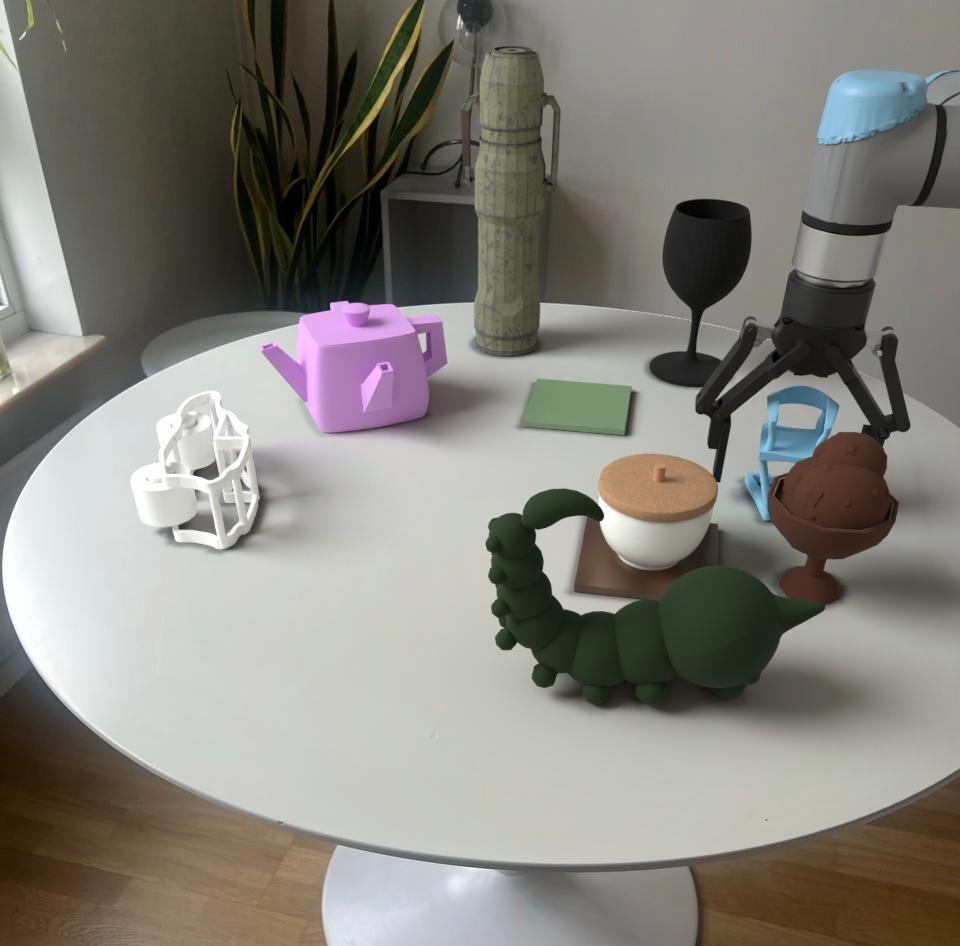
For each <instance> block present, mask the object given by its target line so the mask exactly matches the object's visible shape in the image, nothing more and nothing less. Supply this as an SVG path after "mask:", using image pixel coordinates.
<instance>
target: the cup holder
mask: <svg viewBox="0 0 960 946" xmlns="http://www.w3.org/2000/svg"><path fill="white" fill-rule="evenodd" d="M206 404H208V407H209V408H208V409H209V412H210V416H209V415H207V414H205V413H203V412H200V411H199V412H198V411H193V410H195V409H196V408H198V407H200V406H203V405H206ZM210 417H211V418H210ZM155 429H156V433H157V437H158V441H159V445H160V448H159V450H158V454H157V455H158V456H157V457H158V460H159V462H155V463H150V464H147V465H145V466H141V467H140V468H138V469H137V470H136V471H134V472H133V473H132V475H131V476H130V480H129V481H130V485H131V490H132V493H133V497H134V500H135V501H134V502H135V504H136V508H137V512H138V515H139V519H140V520H141V522H142V523H143V524H145V525H147V526H150V527H153V528H154V527H155V528H169V527H171V528H172V529H171V530H172V534H173V537H174V541H176V542H178V543H195V544H200V545H205V546H209V547H212V548H214V549H216V550H220V551H221V550H226V549H228V548H230V547H232V546H235V544H236V543H237V542H238V539H239V538H241V536H244V535H246V534H249V533H250V531H251V528H252V526H253V524H254V522H255V518H256V516H257V513H258V510H259V501H260V499H261V497H260V492H259V491H260V489H259V486H258V480H257V479H258V478H257V473H256V467H255V460H254V456H253V455H254V454H253V450H252V441H251V436H250V430H249V426H248V425H247V424H246V423H244V422H241V421H240V420H239V418H238V417H237V415H235V413H234V412H232V411H230V410H227V409H225V408H223V401H222V395H221V393H220V392H219V391H216V390H205V391H203V392H199V393H196V394H192V396H190V397H188V398H186V399H185V400H184V401H182V403H181V404H180V406H179V407H178V408H177V410H176V412H174V413H172V414H169V415H166V416H164V417H163V418H161V419H159V421H158V422H157V423H156V427H155ZM233 429H234V430H235V432H236V433H237V434H239V435H240V436H235V435H234V432H233V431H234V430H233ZM237 450H240V452H239V454H238V453H237ZM215 461H216V465H217V470H218V475H219V476H218V477H216V478H214V479H211V480H210V479H209V480H208V479H206V478H204V477H201V476H197V475H194V473H195V471H196V470H199V469H203V468H205V467H208V466H210V465H211V464H213V463H214V462H215ZM245 468H246V470H245ZM242 482H243V484H244V485H245V486H246V487H247V488H249V490H243V487H242V486H243V485H242ZM195 490H196V491H199V492H202V493H205V494H208V498H209V501H210V502H209V503H210V507H211V513H212V516H213V522H214V527H215V531H216V532H215V533H216V535H215V534H213V533H211V532H206V531H202V530H200V531H199V530H195V529H180V527H179V525H182V524H185V523H186V522H188V521H190V520H192V519H193V518H194V517H195V516H196V514H197V513H198V512H199V505H198V501H197V495H196V492H195ZM221 491H222V496H223V499H224V503H225V504H235V505H236V510H237V516H238V522H236V524H234V525H233V526H232V528H231V529H230V531H229V532H228V533H227V534H226V528H225V524H224V519H223V514H222V509H221V503H220V499H219V492H221ZM246 504H249V507H248V510H247V507H246Z"/></svg>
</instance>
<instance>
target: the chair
mask: <svg viewBox="0 0 960 946" xmlns="http://www.w3.org/2000/svg"><path fill="white" fill-rule="evenodd" d="M787 404H788V405H791V404H793V405H794V404H795V405H804V406H809V407H812V408H816V409H819V410H821V413H820V415H819V417H818V418H817V421H816V424H815V428H800V427H791V426H786V425H780V424H778V420H779V408H780V405H787ZM766 405H767V406H766V407H767V416H768V421H767V422H762V425H761V431H760V442H759V450H758V458H757V460H758V470H759V472H751V471H748V472H746V473H745V476H744V484H745V486H746V488H747V491H748V492H749V494H750V496H751V498H752V500H753V502H755V505H756V507H757V509H758V511H759V513H760V516H761V519H762V520H763V521H765V522H769V521H770V522H771V520H770V517H769V513H768V510H767V495H768V492H769V490H770V487H771V485H772V483H773V480H774V478H775V477H776V476H777V475H774V474H769V469H768V462H774V463H775V462H776V463H777V462H779V463H780V462H781V463H792V464H793V463H794V464H796V462H798V461H800V460H803V459H805V458H808V457H812V455H813V452H814V450H815V448H816V447H817V446H818V445H819V444H820V443H821V442H823V441H826V440H827V439H829V438H830V436H831V434H832V433H831V432H832V429H833V426H834V423H835V422H836V418H837V415H838V413H839V410H840V404H839V403H838V402H837V401H836V400H834V399H833V398H832V397H830V395H828V394H827V393H825V392H824V391H822V390H820V389H818V388H815V387H812V386H810V385H791V386H788V387H784V388H781V389H778V390H775V391H773V392H771V393H769V394H768V395H767V396H766ZM759 484H760V485H759Z"/></svg>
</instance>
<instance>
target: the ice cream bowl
mask: <svg viewBox="0 0 960 946" xmlns="http://www.w3.org/2000/svg"><path fill="white" fill-rule="evenodd" d="M887 470H888V454H887V453H886V451H885V449H884V446H883V447H882V446H881V445H880V444H879V442H878V441H877V440H876V439H874V438H872V437H870V436H869V435H867V434H863V433H861V432H857V431H838V432H837V433H835V434H833V435H830V436H829V437H828V438H827V440H826V441H823V442H821V443H820V444H819V445H818V446H817V447H816V448H815V450H814V452H813V455H812V457H808V458H805V459H803V460H800V461H798V462H796V463H794V465H793V466H791V468H790V469H789V471H788V472H785V473H782V474H779V475H775V476H776V477H775V478H774V480H773V483H772V484H770V490H769V492H768V495H767V510H768V513H769V517H770V522H771V524H772V525H773V526H774V527H775V528H776V530H777V531H779V533H780V535H781V536H782V537H783V538H784V540H785V541H786V542H787V543H788V544H789V546H790V547H791V548H792V549H794V550H795V551H798V552H799V553H801V554H804V555H806V557H807V558H806V561H805V564H804V566H803V565H797V566H794V567H791V568H789V569H787V570H784V571H783V573H782V574H781V577H780V579H779V582H778V587H779V588H780V589H781V591H782V592H783V593H784V594H785V597H787V598H794V599H800V600H807V601H813V602H818V603H822V604H824V605H826V604H829V603H831V602H833V601H836V600H838V599H839V594H840V590H841V587H840V586H841V584H840V582H839V581H838V580H837V579H836V578H835V577H834V576H833V574H832V573H830V572H828V571H825V567H826V563H827V561H828V560H831V561H832V560H836V561H837V560H844V559H847V558H849V557H852V556H855V555H857V554H860V553H863V552H865V551H867V550H870V549H871V548H874V547H877V546H878V545H879V544H880V543H881V542H883V541H884V540H885V539H886V538H887V536H888V535H889V534H890V532H891V530H892V529H893V527H894V525H895V524H896V522H897V516H898V511H899V507H900V501H899V500H898V499H897V498H896V497H895V496H894V495H892V494H891V492H890V489H889V486H888V482H887V481H886V479H885V474H886V472H887Z"/></svg>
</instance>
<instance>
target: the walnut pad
mask: <svg viewBox="0 0 960 946" xmlns="http://www.w3.org/2000/svg"><path fill="white" fill-rule="evenodd" d="M582 535H583V536H582V541H581V546H580V552H579V556H578V557H579V558H578V562H577V568H576V573H575V578H574V583H573V592H577V593H583V594H584V593H585V594H595V595H603V596H610V597H611V596H613V597H621V598H630V599H638V600H656V601H660V599H661V597H662V596H663V594H664V593H665V591H666V590H667V589H668V588H669V587H670V586H671V585H672V584H673V583H674V582H675V581H676V580H677V579H679V578H680V577H681V576H683V575H685V574H686V573H688V572H690V571H693V570H695V569H698V568H702V567H707V566H713V565H719V524H718V523H715V522H710V524H709V527H708V530H707V532H706V534H705V536H704V538H703V540H702V541H701V543H700V544H699V546H698V547H697V548H696V549H695V550H694V551H693V552H692V553H691V554H690V555H688V556H687V557H686V558H684V559H682V560H680V561H679V562H678V563H677V564H676V565H674V566H673V567H671V568H668V569H664V570H657V571H650V570H642V569H638V568H635V567H632V566H630V565H628V564H626V563H625V562H623V561H622V560H621V559H620V558H619V556H618V554H617V553H616V552H615V551H614V550H613V549H612V548H611V547H610V546H609V544H608V543H607V541H606V539H605V537H604V536H603V533H602V530H601V526H600V522H598V521H596V520H594V519H592V518H590V517H587V516H586V521H585V524H584V529H583V534H582Z"/></svg>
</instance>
